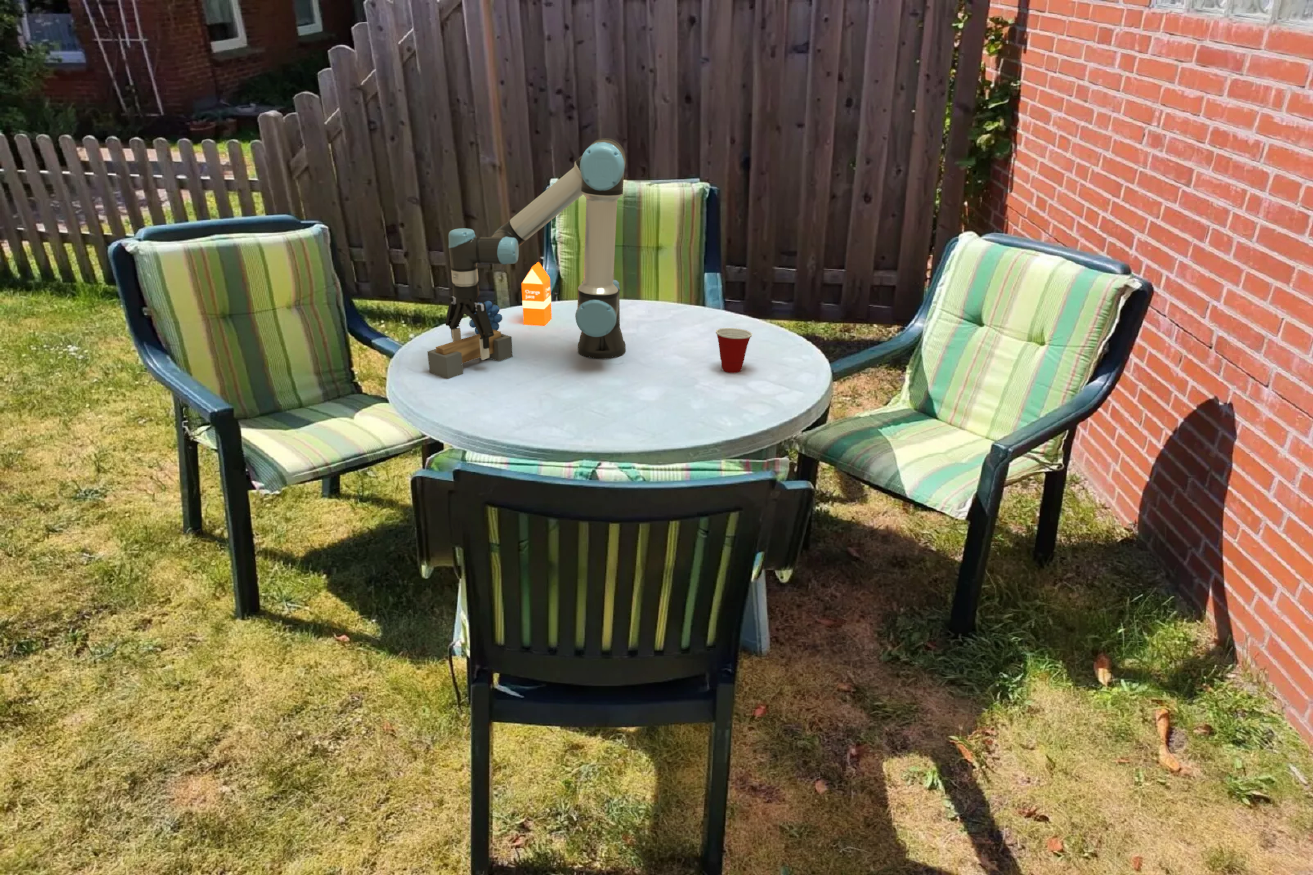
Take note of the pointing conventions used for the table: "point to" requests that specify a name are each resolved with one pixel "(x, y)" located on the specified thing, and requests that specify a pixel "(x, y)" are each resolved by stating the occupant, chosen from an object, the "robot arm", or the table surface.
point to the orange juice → (536, 297)
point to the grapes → (490, 316)
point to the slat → (468, 347)
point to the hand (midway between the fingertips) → (471, 353)
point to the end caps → (453, 361)
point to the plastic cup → (732, 348)
